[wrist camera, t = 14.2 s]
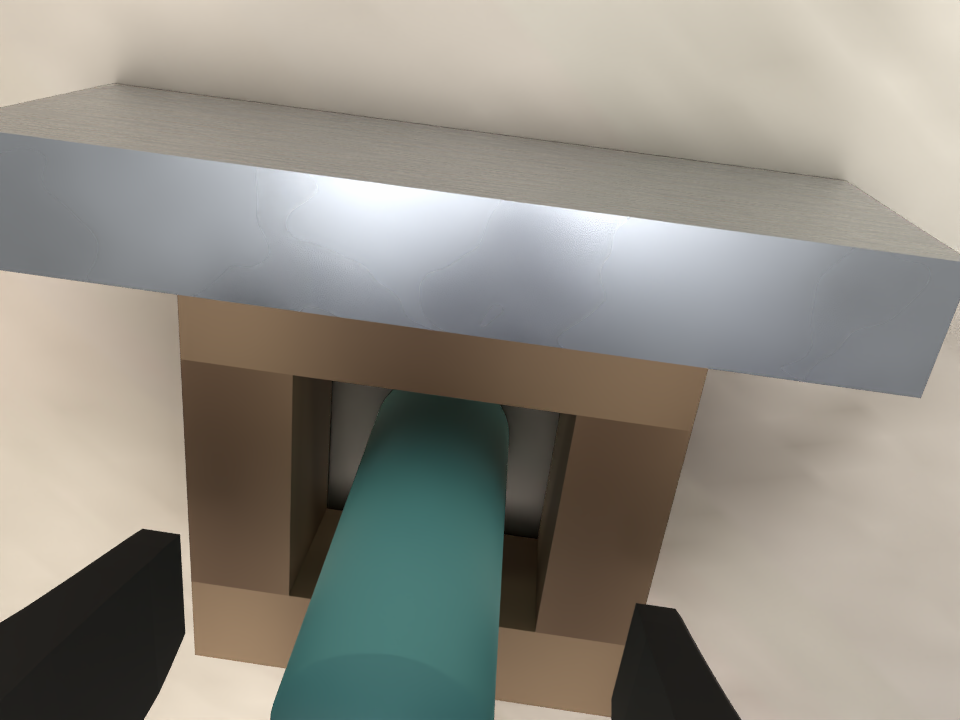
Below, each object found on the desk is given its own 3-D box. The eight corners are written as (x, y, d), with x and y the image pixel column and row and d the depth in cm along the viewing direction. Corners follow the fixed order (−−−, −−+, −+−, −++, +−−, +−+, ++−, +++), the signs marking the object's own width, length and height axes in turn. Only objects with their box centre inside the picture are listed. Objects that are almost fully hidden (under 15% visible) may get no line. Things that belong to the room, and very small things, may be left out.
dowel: (523, 389, 17) (515, 679, 10) (492, 501, 19) (467, 828, 11) (387, 360, 17) (282, 632, 10) (366, 474, 19) (260, 787, 11)
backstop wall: (846, 180, 15) (973, 263, 10) (815, 281, 16) (921, 397, 11) (113, 83, 15) (-72, 122, 11) (121, 186, 16) (-46, 263, 12)
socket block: (690, 267, 16) (719, 324, 13) (606, 616, 20) (615, 718, 17) (239, 206, 16) (175, 250, 13) (243, 563, 20) (195, 654, 17)
